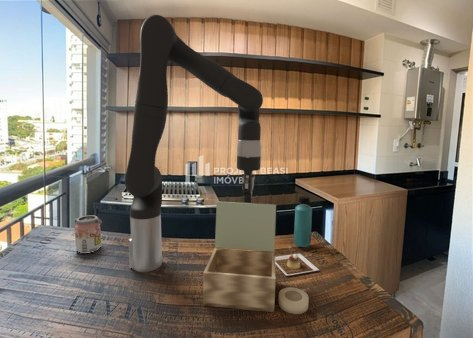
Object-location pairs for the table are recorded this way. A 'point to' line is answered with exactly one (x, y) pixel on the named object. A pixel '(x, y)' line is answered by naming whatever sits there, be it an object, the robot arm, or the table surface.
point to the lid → (245, 226)
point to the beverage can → (88, 233)
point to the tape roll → (293, 300)
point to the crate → (240, 280)
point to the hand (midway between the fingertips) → (247, 207)
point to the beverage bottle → (303, 223)
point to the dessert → (295, 263)
